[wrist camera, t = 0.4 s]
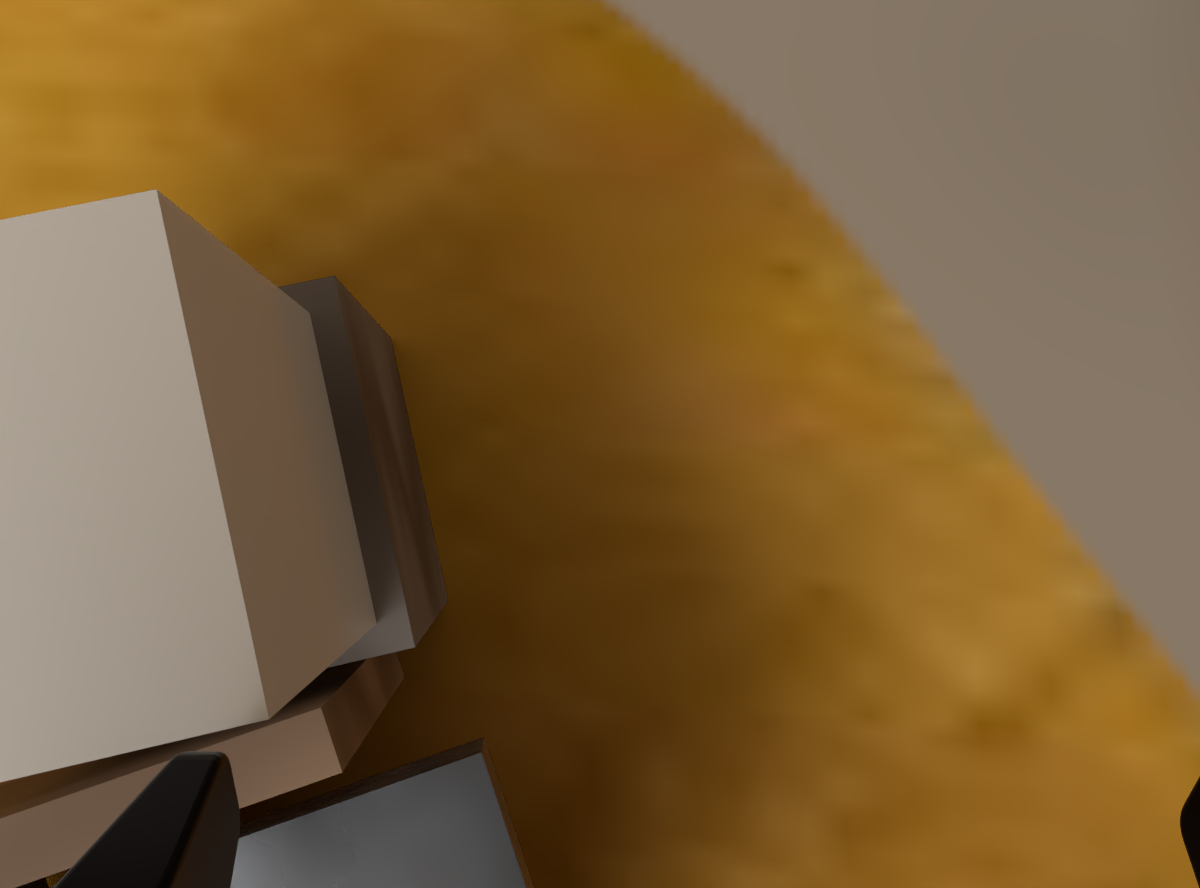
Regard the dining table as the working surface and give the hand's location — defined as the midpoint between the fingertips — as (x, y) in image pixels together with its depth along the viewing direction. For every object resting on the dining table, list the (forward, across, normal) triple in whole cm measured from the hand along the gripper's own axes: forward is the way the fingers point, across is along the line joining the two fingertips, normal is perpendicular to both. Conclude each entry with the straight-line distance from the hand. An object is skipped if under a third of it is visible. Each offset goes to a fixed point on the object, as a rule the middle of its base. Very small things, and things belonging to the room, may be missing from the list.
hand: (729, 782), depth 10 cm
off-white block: (+7, +7, +2) cm, 11 cm away
